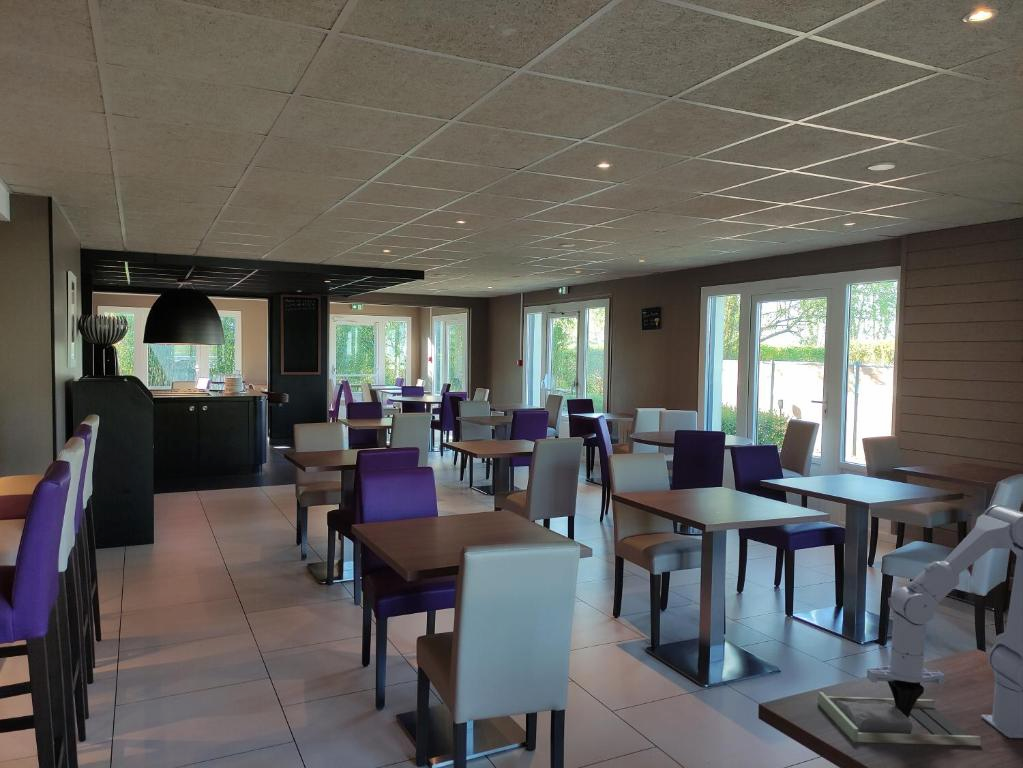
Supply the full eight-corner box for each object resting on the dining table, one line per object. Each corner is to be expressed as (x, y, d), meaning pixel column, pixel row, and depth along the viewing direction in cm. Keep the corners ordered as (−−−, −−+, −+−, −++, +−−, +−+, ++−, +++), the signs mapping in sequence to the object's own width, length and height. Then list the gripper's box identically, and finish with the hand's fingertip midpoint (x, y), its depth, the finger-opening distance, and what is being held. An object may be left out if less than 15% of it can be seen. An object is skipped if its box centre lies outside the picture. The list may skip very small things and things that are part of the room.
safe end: (821, 703, 148) (822, 691, 148) (857, 741, 134) (858, 729, 134) (817, 703, 148) (818, 691, 148) (853, 741, 134) (854, 728, 134)
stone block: (828, 721, 145) (858, 738, 135) (828, 696, 145) (858, 711, 136) (882, 723, 146) (916, 740, 136) (882, 698, 147) (915, 713, 137)
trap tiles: (934, 709, 148) (934, 708, 148) (975, 742, 136) (975, 741, 136) (903, 708, 148) (903, 707, 148) (941, 741, 136) (941, 740, 136)
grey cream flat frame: (932, 707, 149) (933, 699, 149) (980, 745, 135) (981, 737, 135) (821, 703, 148) (822, 696, 148) (857, 741, 134) (858, 733, 134)
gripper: (930, 642, 145) (925, 707, 146) (860, 640, 145) (856, 705, 145) (953, 657, 138) (947, 726, 139) (880, 655, 138) (874, 724, 138)
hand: (902, 716), depth 142 cm, fingers closed
